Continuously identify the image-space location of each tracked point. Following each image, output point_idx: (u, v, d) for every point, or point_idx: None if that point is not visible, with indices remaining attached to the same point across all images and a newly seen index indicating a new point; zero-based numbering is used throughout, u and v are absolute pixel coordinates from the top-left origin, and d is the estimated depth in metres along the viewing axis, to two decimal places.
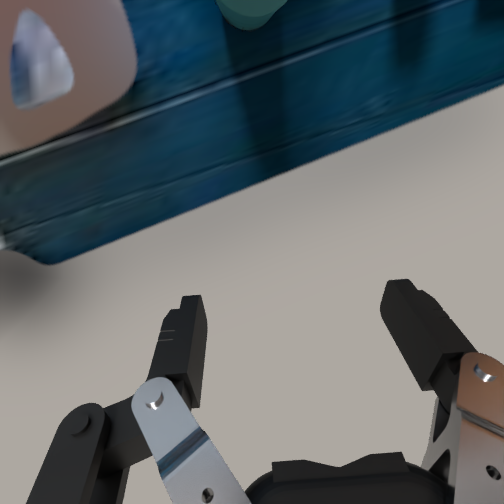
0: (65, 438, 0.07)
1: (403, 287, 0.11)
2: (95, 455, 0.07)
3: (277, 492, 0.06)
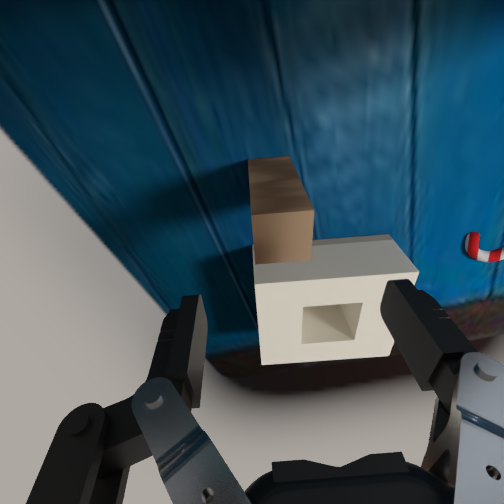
0: (65, 438, 0.07)
1: (403, 287, 0.11)
2: (95, 455, 0.07)
3: (277, 492, 0.06)
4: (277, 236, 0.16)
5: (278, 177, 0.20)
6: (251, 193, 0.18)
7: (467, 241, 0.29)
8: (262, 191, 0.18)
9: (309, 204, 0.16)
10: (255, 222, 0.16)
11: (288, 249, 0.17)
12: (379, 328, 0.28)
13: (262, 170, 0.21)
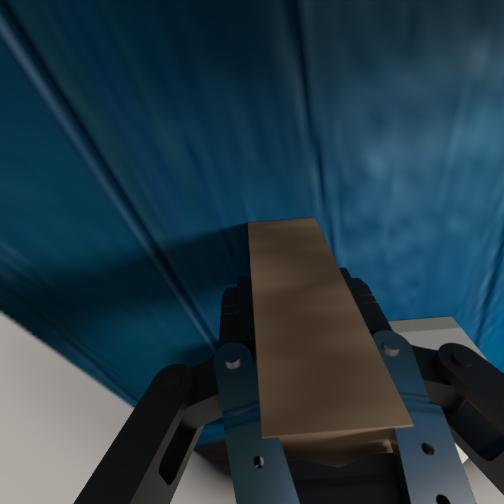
0: (159, 387, 0.08)
1: None
2: (177, 414, 0.08)
3: None
4: (320, 456, 0.07)
5: (305, 278, 0.11)
6: (258, 333, 0.09)
7: None
8: (281, 325, 0.09)
9: (393, 392, 0.07)
10: None
11: None
12: None
13: (273, 254, 0.12)
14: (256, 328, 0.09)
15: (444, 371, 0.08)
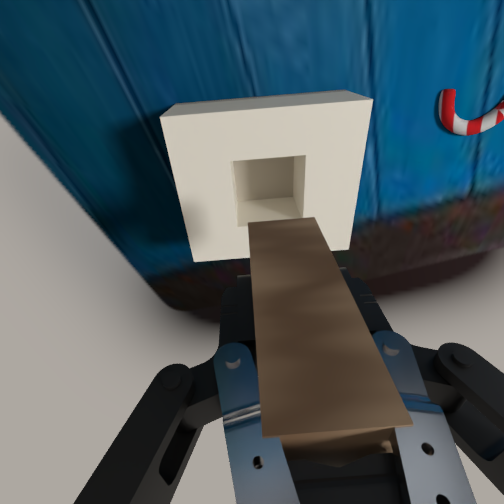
0: (159, 387, 0.08)
1: None
2: (177, 414, 0.08)
3: None
4: (320, 457, 0.07)
5: (305, 278, 0.11)
6: (258, 332, 0.09)
7: (440, 102, 0.24)
8: (280, 325, 0.09)
9: (393, 392, 0.07)
10: None
11: None
12: (332, 202, 0.22)
13: (273, 254, 0.12)
14: (256, 328, 0.09)
15: (444, 371, 0.08)
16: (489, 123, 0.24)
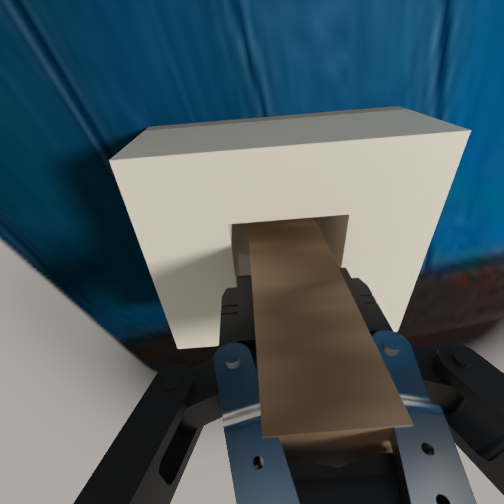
0: (159, 387, 0.08)
1: None
2: (177, 414, 0.08)
3: None
4: (320, 456, 0.07)
5: (305, 278, 0.11)
6: (258, 332, 0.09)
7: None
8: (280, 325, 0.09)
9: (393, 392, 0.07)
10: None
11: None
12: (382, 276, 0.15)
13: (273, 254, 0.12)
14: (256, 328, 0.09)
15: (444, 371, 0.08)
16: None
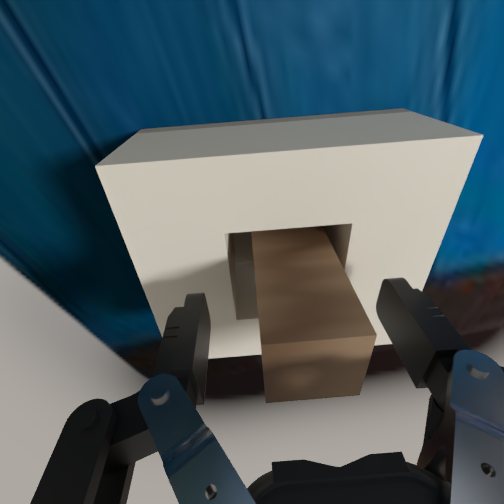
0: (72, 433, 0.07)
1: (398, 285, 0.11)
2: (101, 451, 0.07)
3: (277, 492, 0.06)
4: (306, 369, 0.09)
5: (298, 242, 0.13)
6: (257, 280, 0.11)
7: None
8: (276, 274, 0.11)
9: (363, 316, 0.09)
10: (268, 354, 0.09)
11: (323, 384, 0.10)
12: None
13: None
14: (256, 277, 0.11)
15: None
16: None
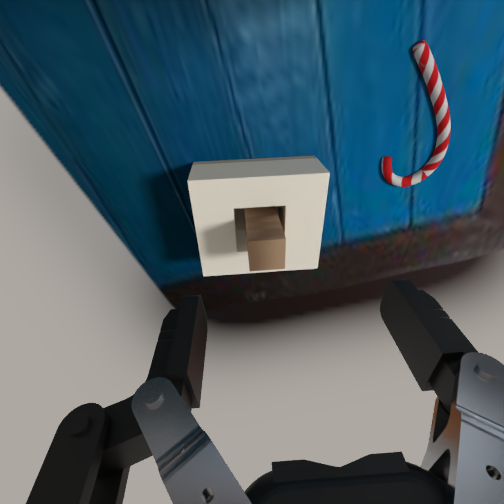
0: (65, 438, 0.07)
1: (403, 287, 0.11)
2: (95, 455, 0.07)
3: (277, 492, 0.06)
4: (263, 253, 0.26)
5: (264, 213, 0.30)
6: (247, 225, 0.28)
7: (382, 165, 0.34)
8: (254, 224, 0.28)
9: (283, 234, 0.26)
10: (250, 245, 0.26)
11: (270, 261, 0.27)
12: (304, 235, 0.32)
13: (253, 207, 0.31)
14: (246, 224, 0.28)
15: None
16: (417, 180, 0.34)
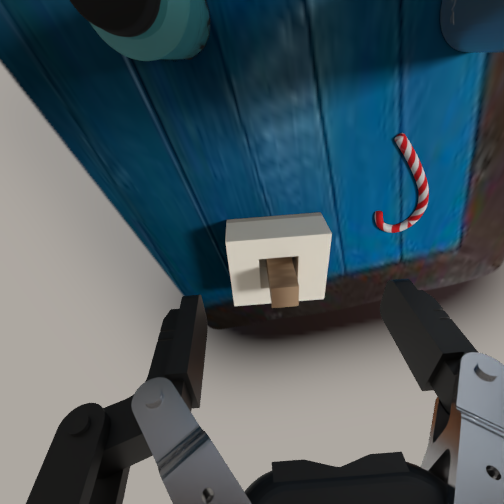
0: (65, 438, 0.07)
1: (403, 287, 0.11)
2: (95, 455, 0.07)
3: (277, 492, 0.06)
4: (282, 296, 0.36)
5: (282, 261, 0.39)
6: (269, 273, 0.37)
7: (375, 217, 0.42)
8: (275, 271, 0.38)
9: (297, 282, 0.36)
10: (273, 291, 0.35)
11: (287, 301, 0.36)
12: (313, 276, 0.41)
13: None
14: (269, 272, 0.38)
15: None
16: (404, 228, 0.43)
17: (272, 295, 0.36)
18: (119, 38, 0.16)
